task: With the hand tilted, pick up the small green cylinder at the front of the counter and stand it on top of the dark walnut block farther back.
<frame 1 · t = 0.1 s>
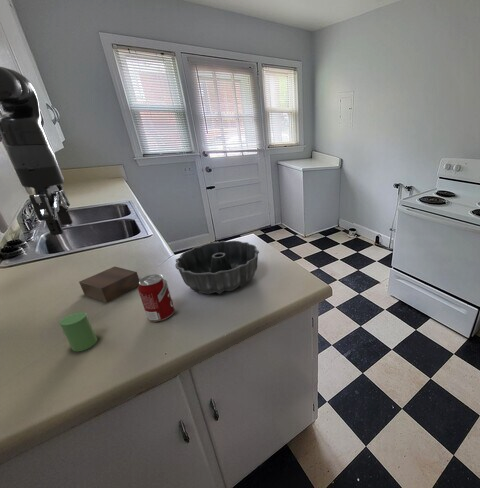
hand: (63, 229, 70), 25 cm above the countertop, tool pointing down, fingers open, 8 cm apart
green cylinder: (85, 344, 67), on the countertop
walnut block: (113, 289, 90), on the countertop
bundt pan: (223, 280, 95), on the countertop
soda can: (161, 316, 77), on the countertop
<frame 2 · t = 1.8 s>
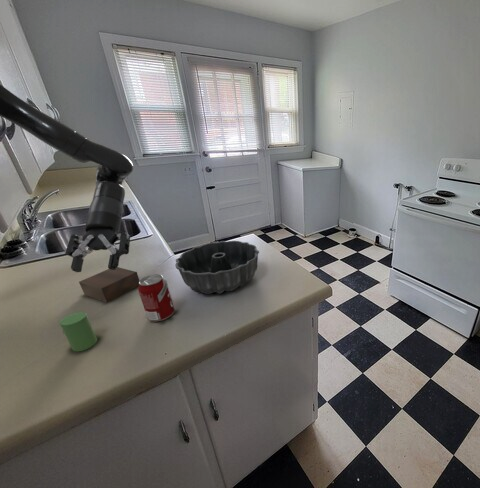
hand: (94, 270, 72), 15 cm above the countertop, tool tilted 45°, fingers open, 8 cm apart
nothing on the countertop moved.
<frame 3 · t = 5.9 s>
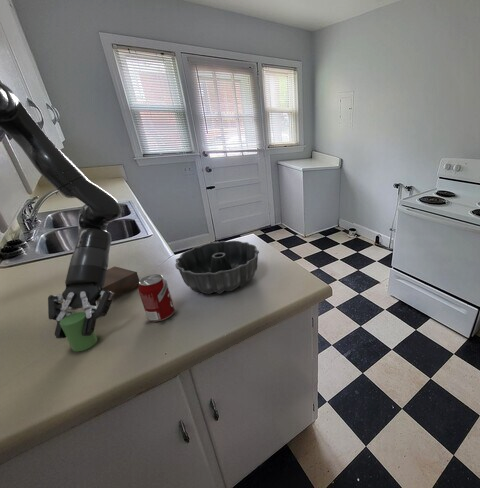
hand: (73, 336, 64), 4 cm above the countertop, tool tilted 45°, fingers closed on green cylinder, 4 cm apart
green cylinder: (85, 344, 67), on the countertop, touching gripper
everything else where it was.
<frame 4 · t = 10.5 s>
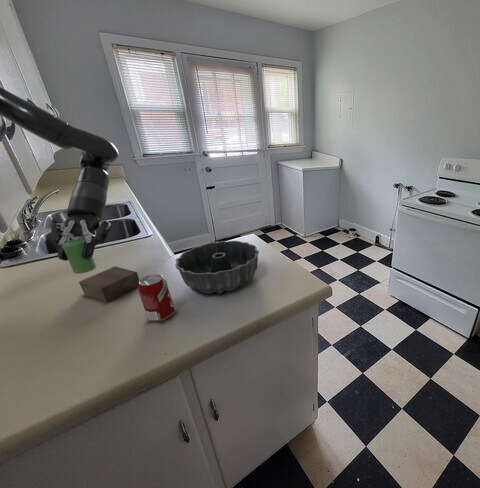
hand: (74, 258, 70), 18 cm above the countertop, tool tilted 45°, fingers closed on green cylinder, 4 cm apart
green cylinder: (85, 269, 73), point 14 cm above the countertop, touching gripper
everything else where it was.
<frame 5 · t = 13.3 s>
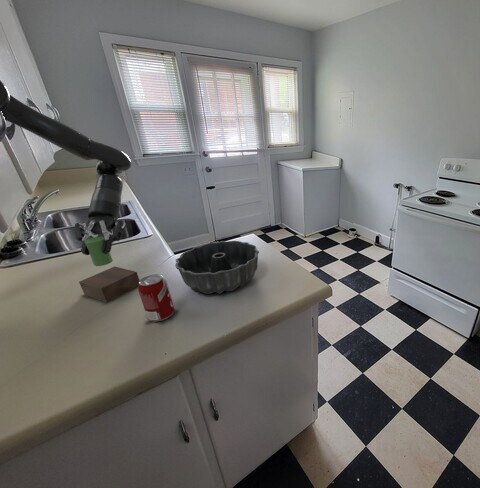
hand: (95, 253, 82), 14 cm above the countertop, tool tilted 45°, fingers closed on green cylinder, 4 cm apart
green cylinder: (103, 262, 86), point 10 cm above the countertop, touching gripper
everything else where it was.
when the fingers open (9 cm above the countertop, at t = 15.2 s): green cylinder stays where it is, resting on walnut block.
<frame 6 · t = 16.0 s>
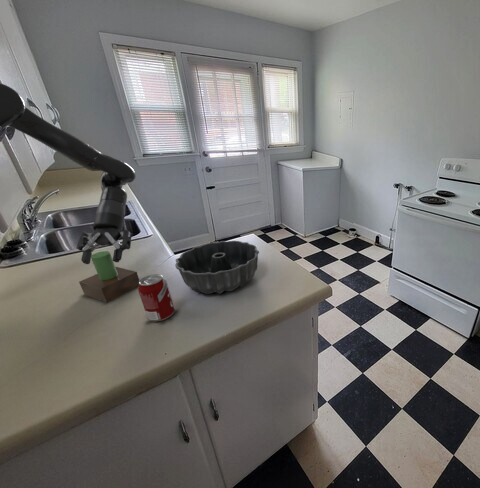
hand: (101, 262, 84), 11 cm above the countertop, tool tilted 45°, fingers open, 8 cm apart
green cylinder: (108, 276, 88), point 5 cm above the countertop, touching walnut block
everything else where it was.
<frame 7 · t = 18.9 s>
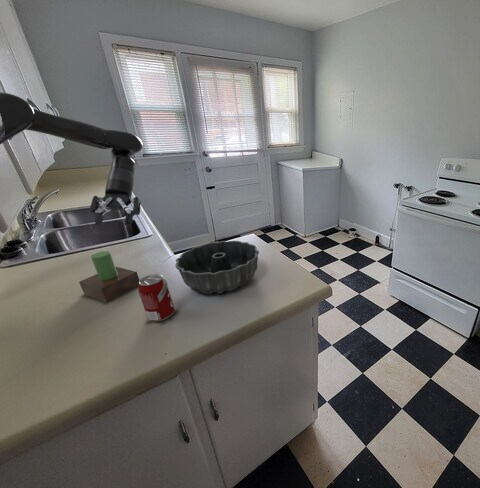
hand: (113, 225, 92), 19 cm above the countertop, tool tilted 40°, fingers open, 8 cm apart
nothing on the countertop moved.
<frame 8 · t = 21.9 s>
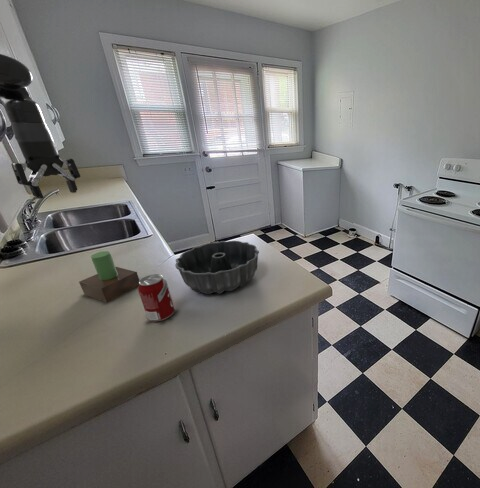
hand: (57, 195, 84), 30 cm above the countertop, tool pointing down, fingers open, 8 cm apart
nothing on the countertop moved.
at the end: green cylinder inside the target area on the walnut block (0.1 cm from its centre), point 5.0 cm above the walnut block's base; green cylinder tilted 0°; the gripper is holding nothing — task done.
